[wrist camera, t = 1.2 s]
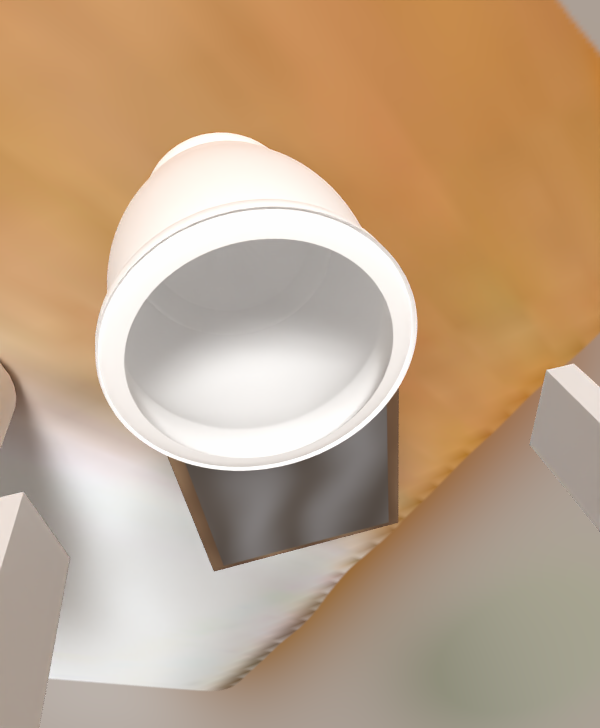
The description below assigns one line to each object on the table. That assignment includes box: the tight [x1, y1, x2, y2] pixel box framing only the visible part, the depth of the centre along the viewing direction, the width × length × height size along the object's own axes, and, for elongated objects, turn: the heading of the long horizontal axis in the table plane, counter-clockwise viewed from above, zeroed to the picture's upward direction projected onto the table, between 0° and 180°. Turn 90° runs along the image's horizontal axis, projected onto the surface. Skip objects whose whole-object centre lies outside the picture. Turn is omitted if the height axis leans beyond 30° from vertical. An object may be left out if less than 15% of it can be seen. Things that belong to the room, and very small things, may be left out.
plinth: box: [168, 387, 399, 571], centre depth 39 cm, size 16×16×4 cm
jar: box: [95, 133, 417, 471], centre depth 22 cm, size 11×10×15 cm
